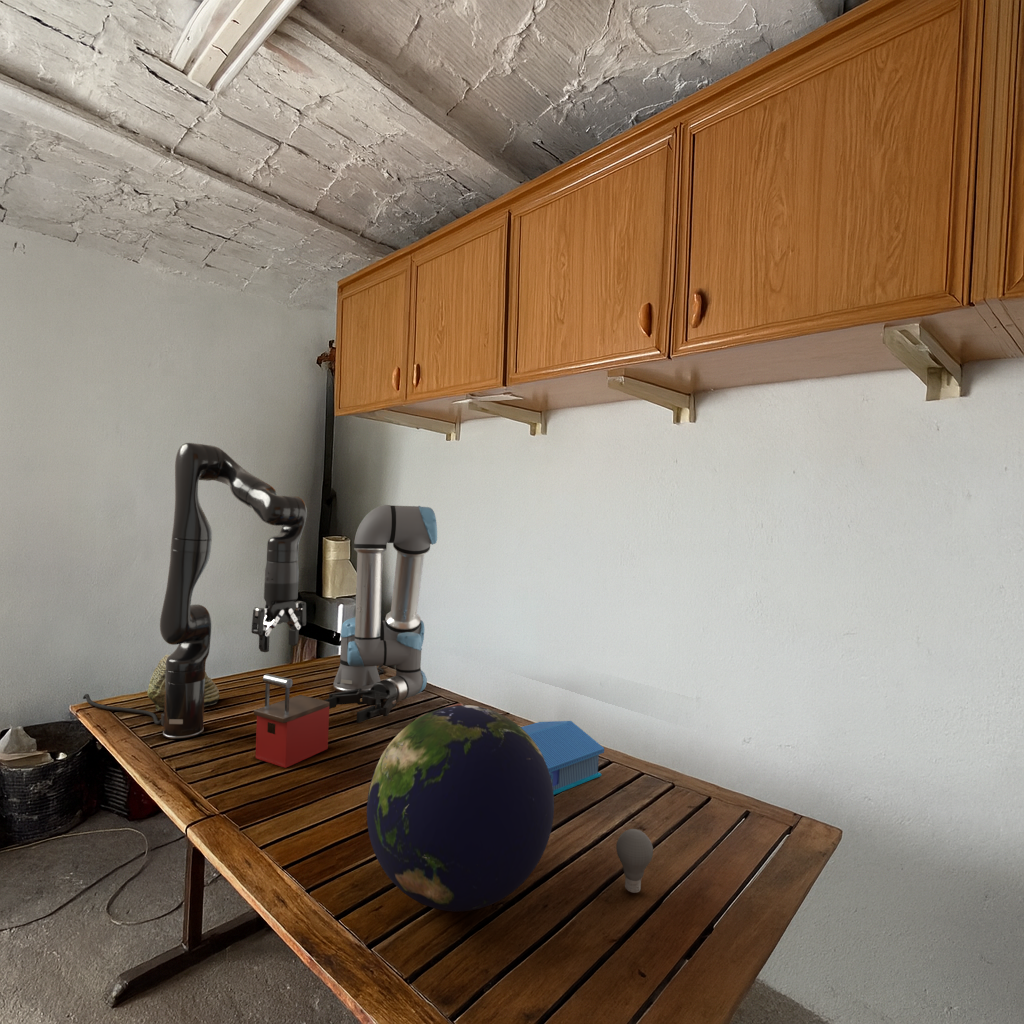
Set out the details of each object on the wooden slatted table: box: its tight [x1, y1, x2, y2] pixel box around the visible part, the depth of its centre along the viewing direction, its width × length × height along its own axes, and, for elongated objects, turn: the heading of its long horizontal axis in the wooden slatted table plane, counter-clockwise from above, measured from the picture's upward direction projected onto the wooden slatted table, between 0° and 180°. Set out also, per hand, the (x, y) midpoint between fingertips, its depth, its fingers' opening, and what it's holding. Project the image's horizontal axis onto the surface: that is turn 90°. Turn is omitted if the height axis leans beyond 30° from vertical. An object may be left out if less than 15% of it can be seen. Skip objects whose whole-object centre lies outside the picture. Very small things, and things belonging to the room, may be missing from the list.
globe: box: [366, 704, 555, 913], centre depth 102 cm, size 30×30×30 cm
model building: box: [520, 720, 605, 796], centre depth 143 cm, size 39×24×10 cm, turn 132°
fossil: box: [147, 654, 221, 712], centre depth 185 cm, size 9×18×15 cm, turn 132°
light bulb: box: [615, 828, 654, 894], centre depth 106 cm, size 6×6×10 cm
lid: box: [253, 673, 329, 723], centre depth 154 cm, size 15×10×10 cm
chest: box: [255, 707, 330, 769], centre depth 155 cm, size 14×10×11 cm
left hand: (279, 648), depth 150 cm, fingers open, 8 cm apart
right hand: (337, 712), depth 167 cm, fingers open, 13 cm apart
